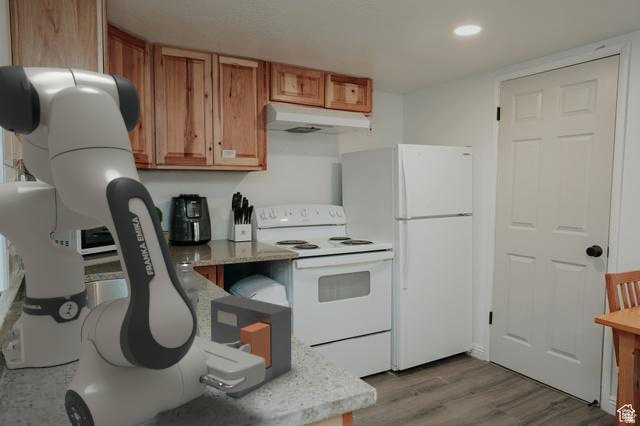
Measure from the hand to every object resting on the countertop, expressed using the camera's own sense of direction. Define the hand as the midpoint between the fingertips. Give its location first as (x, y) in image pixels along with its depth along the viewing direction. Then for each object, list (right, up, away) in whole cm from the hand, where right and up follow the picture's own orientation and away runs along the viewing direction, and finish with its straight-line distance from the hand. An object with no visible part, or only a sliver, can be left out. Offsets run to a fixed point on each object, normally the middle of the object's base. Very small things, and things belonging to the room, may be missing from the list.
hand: (245, 346), depth 77 cm
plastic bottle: (-18, -7, +21) cm, 29 cm away
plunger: (+2, -5, +2) cm, 6 cm away
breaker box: (-4, -8, +8) cm, 12 cm away
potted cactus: (-75, -1, +145) cm, 164 cm away
